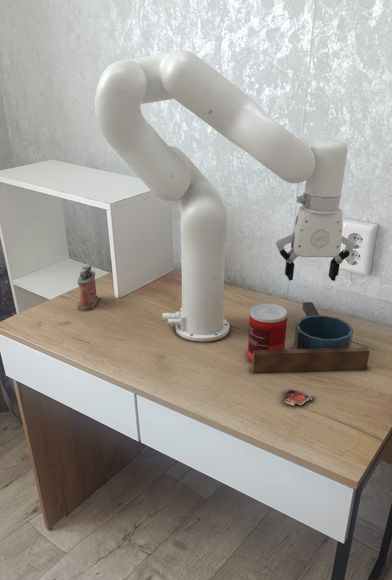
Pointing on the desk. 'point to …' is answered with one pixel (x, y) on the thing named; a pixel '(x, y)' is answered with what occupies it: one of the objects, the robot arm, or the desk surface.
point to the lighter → (87, 288)
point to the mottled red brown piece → (296, 397)
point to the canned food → (266, 328)
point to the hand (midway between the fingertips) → (310, 278)
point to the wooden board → (310, 359)
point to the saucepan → (321, 331)
